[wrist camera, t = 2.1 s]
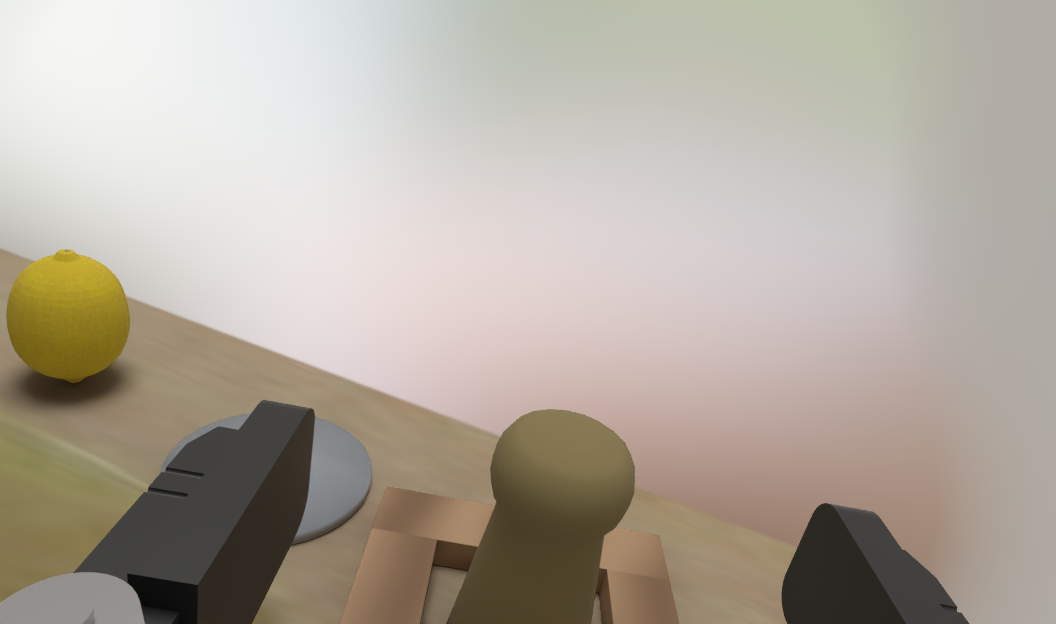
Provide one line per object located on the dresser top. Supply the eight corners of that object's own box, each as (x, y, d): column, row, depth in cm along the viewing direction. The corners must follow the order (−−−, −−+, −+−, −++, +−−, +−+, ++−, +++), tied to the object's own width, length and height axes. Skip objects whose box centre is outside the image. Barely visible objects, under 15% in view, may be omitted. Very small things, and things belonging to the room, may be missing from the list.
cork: (590, 732, 25) (674, 503, 21) (431, 712, 25) (485, 472, 20) (577, 604, 31) (641, 402, 27) (447, 585, 30) (492, 376, 26)
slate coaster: (114, 526, 29) (114, 515, 29) (216, 407, 39) (216, 398, 38) (340, 565, 30) (342, 555, 30) (388, 438, 39) (389, 430, 39)
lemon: (124, 407, 37) (119, 273, 34) (1, 410, 35) (-17, 267, 32) (137, 357, 42) (133, 236, 38) (28, 357, 39) (15, 228, 36)
